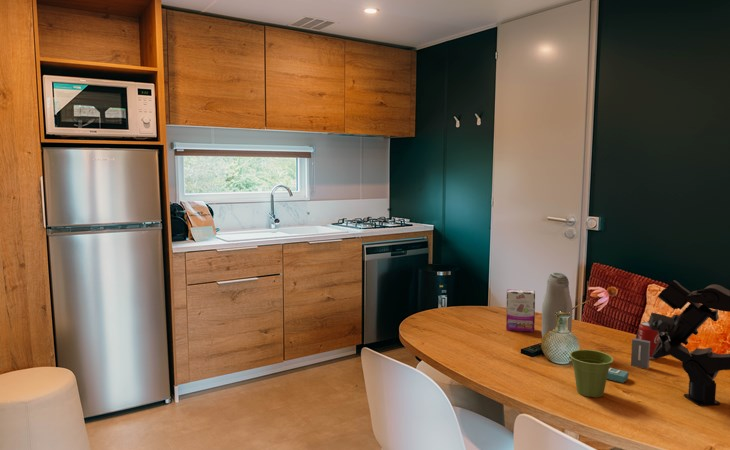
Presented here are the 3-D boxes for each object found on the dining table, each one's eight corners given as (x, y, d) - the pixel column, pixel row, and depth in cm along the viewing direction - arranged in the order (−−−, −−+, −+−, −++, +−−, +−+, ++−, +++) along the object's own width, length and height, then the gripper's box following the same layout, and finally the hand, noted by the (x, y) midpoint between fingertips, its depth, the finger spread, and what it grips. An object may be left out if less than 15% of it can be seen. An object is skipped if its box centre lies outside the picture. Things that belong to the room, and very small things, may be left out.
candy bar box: (534, 329, 214) (535, 290, 213) (534, 332, 210) (535, 293, 208) (506, 326, 218) (507, 288, 216) (505, 330, 213) (506, 291, 211)
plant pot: (575, 381, 162) (576, 346, 161) (616, 391, 155) (618, 355, 153) (562, 394, 153) (563, 357, 152) (605, 405, 146) (607, 367, 144)
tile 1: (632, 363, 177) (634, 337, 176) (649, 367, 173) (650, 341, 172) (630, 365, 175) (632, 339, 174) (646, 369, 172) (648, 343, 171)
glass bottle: (576, 350, 190) (579, 274, 187) (554, 354, 186) (556, 277, 183) (557, 341, 199) (559, 269, 196) (535, 345, 195) (537, 272, 192)
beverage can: (660, 360, 179) (662, 327, 178) (640, 359, 180) (642, 325, 179) (654, 354, 185) (656, 321, 184) (635, 353, 186) (637, 320, 185)
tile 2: (628, 371, 164) (598, 364, 170) (623, 376, 160) (593, 368, 166) (628, 378, 164) (598, 371, 170) (623, 383, 160) (593, 376, 166)
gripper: (657, 291, 158) (625, 327, 165) (670, 322, 142) (633, 361, 149) (691, 310, 157) (657, 345, 164) (708, 344, 140) (669, 382, 147)
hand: (653, 357), depth 156 cm, fingers closed
